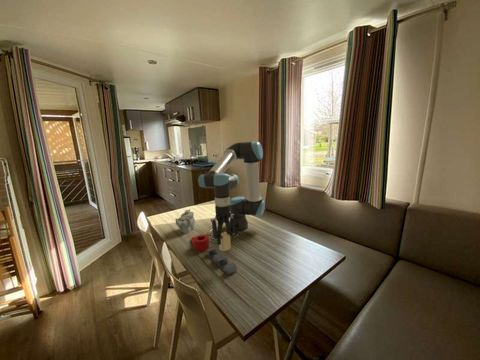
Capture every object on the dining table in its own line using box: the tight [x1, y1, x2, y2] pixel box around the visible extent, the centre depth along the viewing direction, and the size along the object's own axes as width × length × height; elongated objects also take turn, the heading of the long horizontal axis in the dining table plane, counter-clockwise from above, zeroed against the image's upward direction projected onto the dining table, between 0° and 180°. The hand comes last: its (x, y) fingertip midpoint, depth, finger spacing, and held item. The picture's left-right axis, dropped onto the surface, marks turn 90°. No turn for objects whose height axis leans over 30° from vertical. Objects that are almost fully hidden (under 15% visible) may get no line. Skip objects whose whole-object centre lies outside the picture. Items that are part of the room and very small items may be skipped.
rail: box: [206, 246, 237, 276], centre depth 112 cm, size 24×5×4 cm, turn 35°
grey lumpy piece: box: [174, 208, 196, 235], centre depth 151 cm, size 15×14×17 cm
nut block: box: [221, 231, 231, 252], centre depth 105 cm, size 4×4×8 cm
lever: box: [190, 234, 210, 253], centre depth 132 cm, size 18×9×7 cm, turn 37°
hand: (224, 248), depth 105 cm, fingers closed on nut block, 4 cm apart
